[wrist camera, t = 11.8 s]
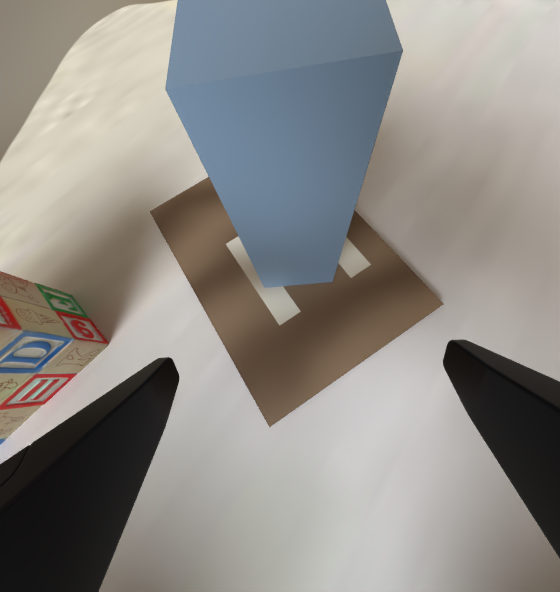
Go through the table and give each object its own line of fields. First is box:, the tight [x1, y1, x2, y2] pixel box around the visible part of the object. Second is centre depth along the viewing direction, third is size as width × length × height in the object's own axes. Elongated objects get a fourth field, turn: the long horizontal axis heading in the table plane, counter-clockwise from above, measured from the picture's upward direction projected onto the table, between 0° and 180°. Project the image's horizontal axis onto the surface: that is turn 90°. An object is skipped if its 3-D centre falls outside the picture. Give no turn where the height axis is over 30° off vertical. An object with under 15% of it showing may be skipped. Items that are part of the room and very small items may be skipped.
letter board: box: [150, 177, 443, 427], centre depth 19 cm, size 20×14×1 cm
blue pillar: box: [165, 0, 403, 288], centre depth 12 cm, size 5×5×13 cm
